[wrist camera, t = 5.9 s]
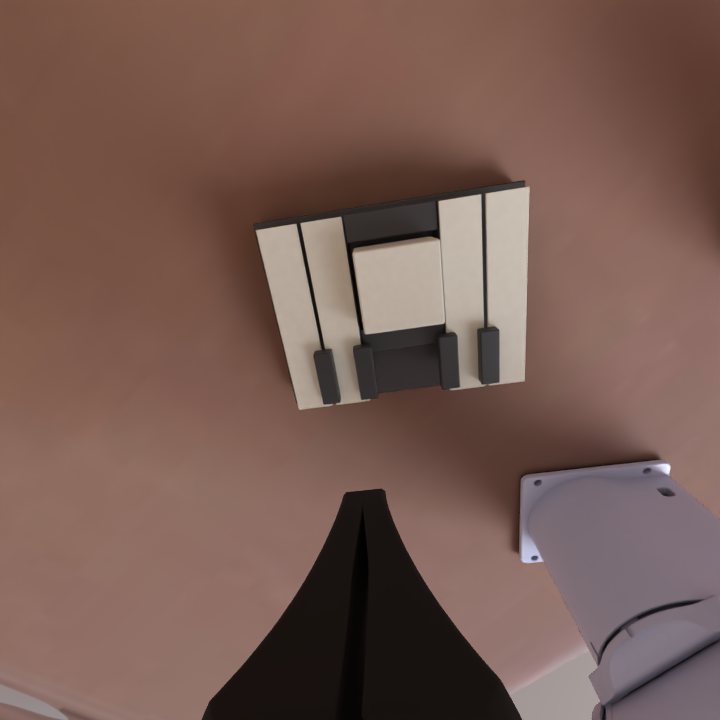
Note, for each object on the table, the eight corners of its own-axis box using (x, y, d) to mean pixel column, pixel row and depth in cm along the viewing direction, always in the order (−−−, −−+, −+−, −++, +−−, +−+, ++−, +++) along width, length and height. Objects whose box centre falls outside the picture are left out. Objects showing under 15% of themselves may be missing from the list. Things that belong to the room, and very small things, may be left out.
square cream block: (353, 247, 17) (351, 252, 15) (431, 235, 16) (440, 238, 15) (364, 322, 18) (364, 335, 16) (436, 312, 18) (445, 324, 16)
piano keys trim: (256, 230, 16) (251, 231, 15) (528, 186, 15) (536, 185, 15) (299, 408, 19) (297, 415, 19) (523, 379, 19) (529, 386, 18)
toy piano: (259, 223, 19) (241, 225, 16) (514, 182, 18) (543, 176, 15) (299, 393, 22) (290, 419, 20) (513, 366, 22) (535, 388, 19)
